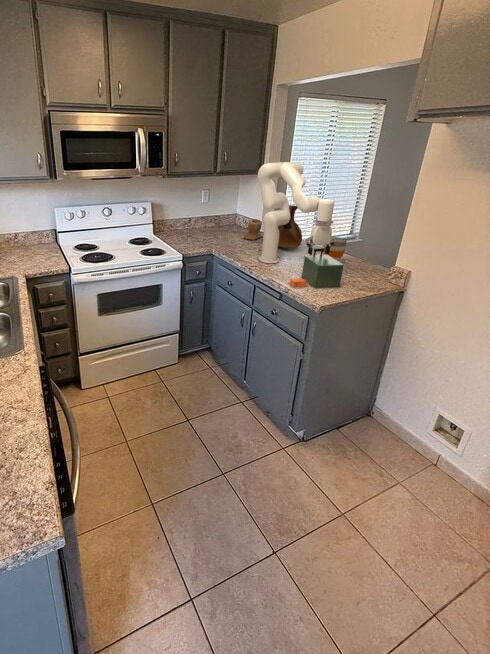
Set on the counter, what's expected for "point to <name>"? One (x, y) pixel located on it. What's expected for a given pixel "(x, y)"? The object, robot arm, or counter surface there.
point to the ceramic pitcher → (290, 232)
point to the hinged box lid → (322, 259)
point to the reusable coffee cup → (336, 248)
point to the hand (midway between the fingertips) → (318, 254)
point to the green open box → (321, 275)
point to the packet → (298, 282)
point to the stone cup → (253, 229)
